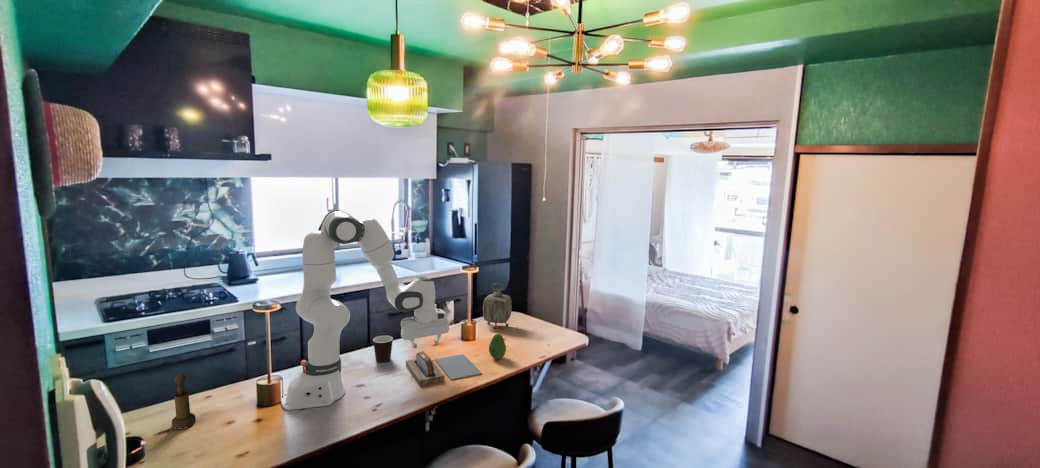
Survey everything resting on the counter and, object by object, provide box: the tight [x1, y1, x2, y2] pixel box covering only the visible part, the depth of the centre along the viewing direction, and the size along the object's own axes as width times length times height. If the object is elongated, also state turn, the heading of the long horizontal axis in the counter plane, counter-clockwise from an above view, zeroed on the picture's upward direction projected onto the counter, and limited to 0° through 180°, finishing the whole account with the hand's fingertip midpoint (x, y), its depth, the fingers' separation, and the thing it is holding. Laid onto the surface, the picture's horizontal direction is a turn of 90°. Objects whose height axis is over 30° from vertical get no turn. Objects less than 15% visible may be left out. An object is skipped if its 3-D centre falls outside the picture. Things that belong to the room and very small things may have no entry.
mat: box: [434, 353, 483, 381], centre depth 213 cm, size 14×22×1 cm, turn 28°
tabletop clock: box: [482, 282, 513, 329], centre depth 262 cm, size 14×9×25 cm, turn 77°
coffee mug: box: [372, 335, 394, 364], centre depth 219 cm, size 12×9×10 cm
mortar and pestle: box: [171, 373, 197, 430], centre depth 161 cm, size 7×6×18 cm
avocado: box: [488, 333, 507, 360], centre depth 222 cm, size 8×8×12 cm
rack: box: [405, 356, 445, 387], centre depth 206 cm, size 10×21×2 cm, turn 28°
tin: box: [415, 350, 434, 377], centre depth 205 cm, size 15×3×8 cm, turn 32°
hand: (425, 345), depth 204 cm, fingers open, 8 cm apart
